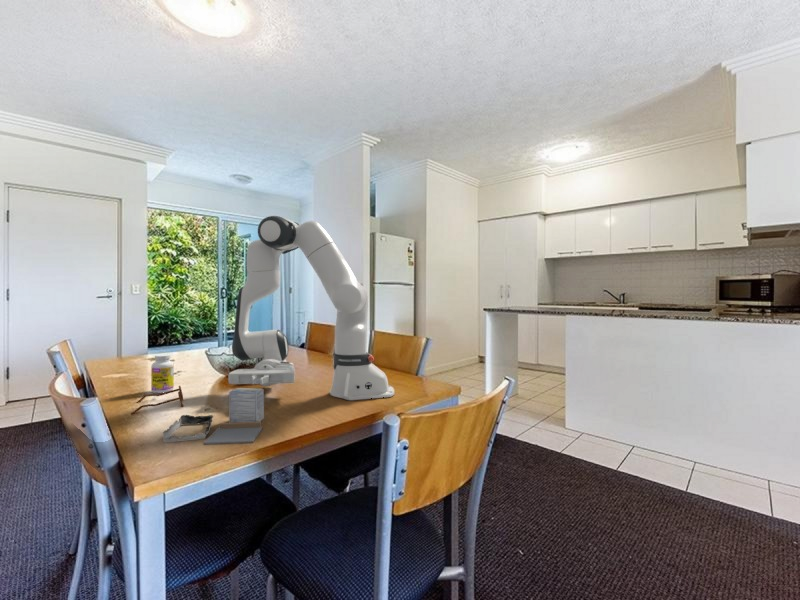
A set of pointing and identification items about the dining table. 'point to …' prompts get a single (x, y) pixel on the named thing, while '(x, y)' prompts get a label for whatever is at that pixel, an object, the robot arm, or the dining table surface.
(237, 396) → the medicine box
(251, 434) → the tip mat
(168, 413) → the dining table surface
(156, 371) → the supplement bottle
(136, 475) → the dining table surface
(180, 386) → the glasses
